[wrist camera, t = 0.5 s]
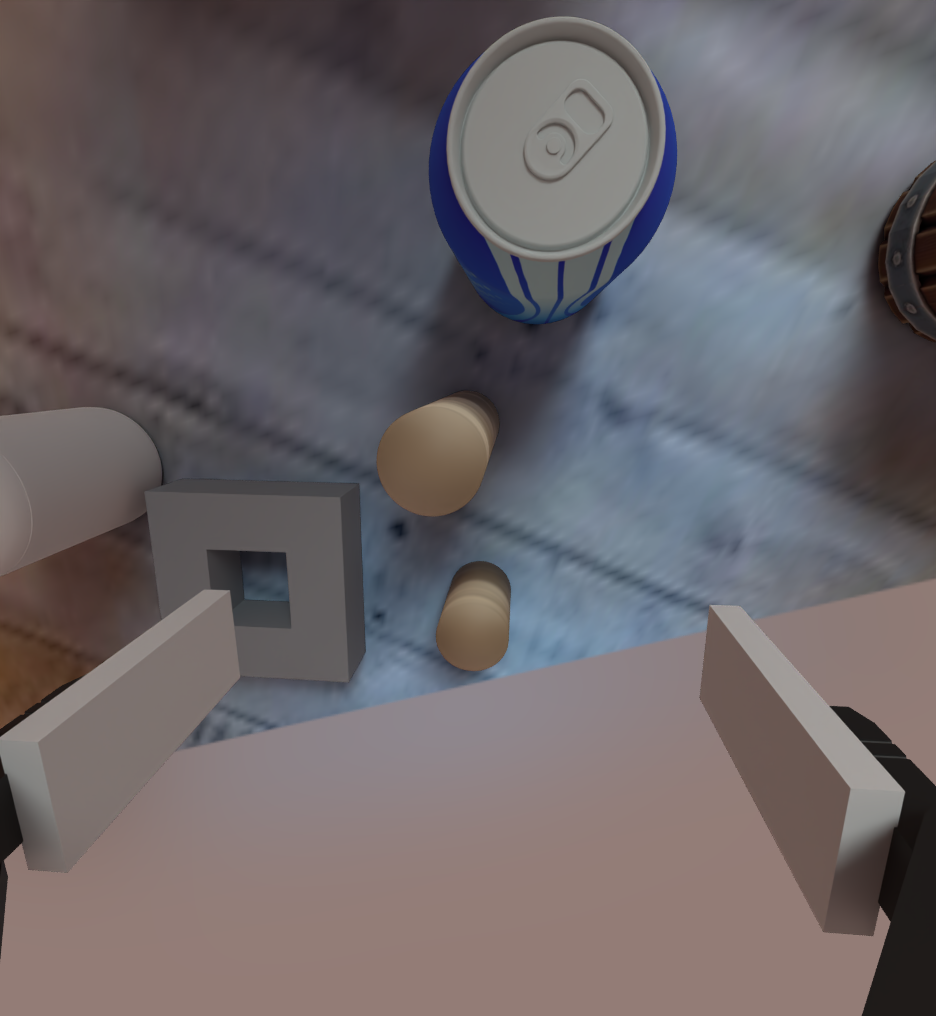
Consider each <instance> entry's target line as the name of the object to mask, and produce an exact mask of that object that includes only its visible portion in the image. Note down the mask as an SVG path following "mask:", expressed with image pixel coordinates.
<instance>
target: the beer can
mask: <svg viewBox="0 0 936 1016" xmlns="http://www.w3.org/2000/svg"><path fill="white" fill-rule="evenodd" d="M676 166H677V142H676V132H675V126H674V121H673V117H672V113H671V110H670V107H669V104H668V101H667V99H666V96H665V94H664V92H663V90H662V88H661V86H660V84H659V82H658V80H657V79H656V77H655V76H654V74H653V72H652V71H651V70H650V68H649V67H648V65H647V63H646V62H645V60H644V59H643V58H642V56H641V55H640V54H639V52H638V51H637V50H636V49H635V48H634V47H633V46H632V45H631V44H630V43H629V42H628V41H627V40H626V39H624V38H623V37H622V36H621V35H619V34H618V33H616V32H615V31H613V30H612V29H610V28H608V27H606V26H604V25H602V24H599V23H597V22H594V21H591V20H587V19H583V18H577V17H550V18H544V19H540V20H535V21H532V22H530V23H527V24H524V25H522V26H520V27H518V28H516V29H514V30H512V31H510V32H509V33H507V34H505V35H504V36H502V37H501V38H500V39H498V40H497V41H496V42H495V43H493V44H492V45H491V46H490V47H489V48H488V49H487V50H486V51H485V52H484V53H482V54H481V55H480V56H479V57H478V58H477V59H476V60H475V61H474V62H473V63H472V64H471V65H470V66H469V67H468V68H467V69H466V71H465V72H464V73H463V74H462V76H461V77H460V78H459V80H458V81H457V82H456V84H455V85H454V87H453V88H452V90H451V92H450V93H449V95H448V97H447V99H446V101H445V103H444V105H443V107H442V109H441V112H440V114H439V117H438V120H437V122H436V126H435V129H434V133H433V137H432V142H431V148H430V157H429V184H430V193H431V199H432V204H433V208H434V212H435V215H436V218H437V221H438V224H439V227H440V229H441V231H442V233H443V235H444V237H445V239H446V241H447V243H448V244H449V246H450V248H451V249H452V251H453V253H454V255H455V256H456V258H457V260H458V261H459V263H460V265H461V266H462V268H463V270H464V271H465V273H466V275H467V276H468V278H469V280H470V281H471V283H472V285H473V286H474V288H475V290H476V291H477V293H478V294H479V296H480V297H481V298H482V299H483V300H484V301H485V303H487V304H488V305H489V306H490V307H491V308H492V309H493V310H495V311H496V312H498V313H499V314H501V315H502V316H505V317H507V318H509V319H511V320H514V321H517V322H521V323H527V324H546V323H552V322H556V321H559V320H562V319H565V318H567V317H569V316H571V315H573V314H575V313H576V312H578V311H579V310H581V309H582V308H583V307H585V306H586V305H587V304H588V303H589V302H590V301H591V300H592V299H594V298H595V297H596V296H597V295H598V294H599V293H600V292H601V291H602V290H603V289H604V288H605V287H607V286H608V285H609V284H610V283H611V282H612V281H613V280H614V279H615V278H616V277H617V276H618V275H619V274H621V273H622V272H623V271H624V270H625V269H626V268H627V267H628V266H629V265H630V264H631V263H632V262H633V261H634V260H635V259H636V258H637V257H638V256H639V255H640V254H641V252H642V251H643V250H644V249H645V247H646V246H647V245H648V243H649V242H650V240H651V239H652V237H653V235H654V234H655V232H656V231H657V229H658V227H659V225H660V223H661V221H662V219H663V217H664V214H665V212H666V209H667V206H668V204H669V201H670V197H671V194H672V190H673V186H674V181H675V175H676Z"/></svg>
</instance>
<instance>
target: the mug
mask: <svg viewBox="0 0 936 1016" xmlns="http://www.w3.org/2000/svg"><path fill="white" fill-rule="evenodd" d="M884 239H885V240H884V241H883V243H882V244H881V245H880V249H879V261H878V267H879V277H880V282H881V283H882V284H883V286H884V287H885V292H884V297H885V299H886V301H887V303H888V305H889V307H890V308H891V310H892V312H893V313H894V314H895V316H896V317H897V318H898V319H899V320H900V321H901V323H902V324H904V323H909V325H910V326H911V328H912V330H913V332H914V333H915V334H917V335H919V336H921V337H923V338H925V339H927V340H929V341H933V342H936V161H934V162H933V163H931V164H930V165H929V166H928V167H927V168H925V169H924V170H923V171H922V172H921V173H920V174H919V175H918V176H917V177H916V178H915V180H914V182H913V185H912V187H911V189H910V190H909V191H906V192H903V193H902V195H901V196H900V198H899V200H898V201H897V203H896V204H895V206H894V208H893V209H892V211H891V214H890V216H889V218H888V221H887V223H886V225H885V228H884Z"/></svg>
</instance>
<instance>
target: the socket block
mask: <svg viewBox="0 0 936 1016" xmlns="http://www.w3.org/2000/svg"><path fill="white" fill-rule="evenodd" d="M144 493H145V501H146V508H147V516H148V523H149V531H150V538H151V546H152V554H153V561H154V569H155V576H156V584H157V591H158V599H159V606H160V614H161V620H163V619H164V618H165V617H167V616H168V615H170V614H171V613H172V612H174V611H175V610H176V609H178V608H179V607H181V606H182V605H183V604H185V603H186V602H188V601H189V600H190V599H192V598H193V597H194V596H196V595H197V594H199V593H200V592H201V591H203V590H230V596H231V604H232V612H233V621H234V629H235V638H236V646H237V654H238V663H239V671H240V676H246V677H264V678H281V679H298V680H316V681H333V682H349V681H350V679H351V678H352V676H353V674H354V672H355V670H356V668H357V667H358V665H359V663H360V661H361V659H362V657H363V655H364V654H365V652H366V650H365V624H364V598H363V572H362V545H361V519H360V493H359V484H357V483H321V482H285V481H248V480H212V479H180V480H177V481H174V482H171V483H168V484H165V485H162V486H159V487H156V488H153V489H150V490H147V491H144ZM240 551H262V552H286V560H287V573H288V587H289V601H290V602H282V601H260V600H244V592H243V581H242V570H241V559H240Z"/></svg>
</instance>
